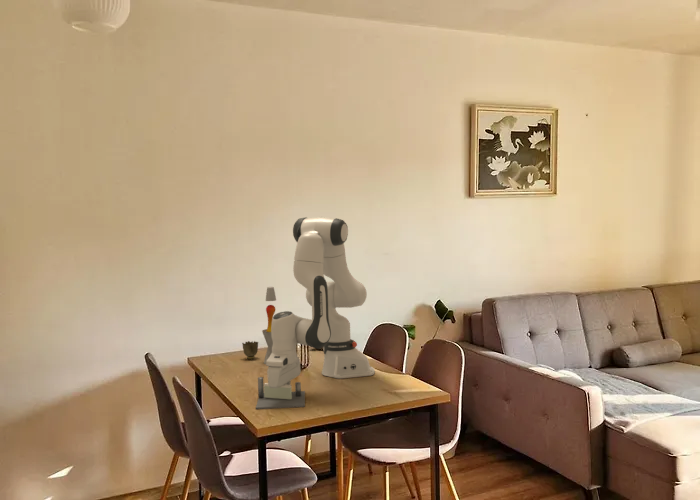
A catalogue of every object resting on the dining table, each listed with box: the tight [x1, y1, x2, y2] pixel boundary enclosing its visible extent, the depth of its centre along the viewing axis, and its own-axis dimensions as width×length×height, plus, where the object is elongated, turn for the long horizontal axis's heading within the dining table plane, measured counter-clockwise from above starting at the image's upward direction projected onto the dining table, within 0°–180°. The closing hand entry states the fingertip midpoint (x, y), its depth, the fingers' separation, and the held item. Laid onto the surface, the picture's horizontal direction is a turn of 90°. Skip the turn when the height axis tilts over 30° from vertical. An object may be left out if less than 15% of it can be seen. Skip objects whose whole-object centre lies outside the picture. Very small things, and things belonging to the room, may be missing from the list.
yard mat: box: [255, 390, 306, 410], centre depth 226 cm, size 17×18×1 cm
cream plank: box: [263, 382, 293, 399], centre depth 226 cm, size 11×1×5 cm, turn 70°
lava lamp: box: [261, 286, 277, 365], centre depth 286 cm, size 9×9×35 cm
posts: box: [257, 376, 302, 398], centre depth 229 cm, size 16×2×8 cm, turn 94°
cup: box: [241, 340, 259, 361], centre depth 295 cm, size 8×7×8 cm
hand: (285, 393), depth 228 cm, fingers closed
